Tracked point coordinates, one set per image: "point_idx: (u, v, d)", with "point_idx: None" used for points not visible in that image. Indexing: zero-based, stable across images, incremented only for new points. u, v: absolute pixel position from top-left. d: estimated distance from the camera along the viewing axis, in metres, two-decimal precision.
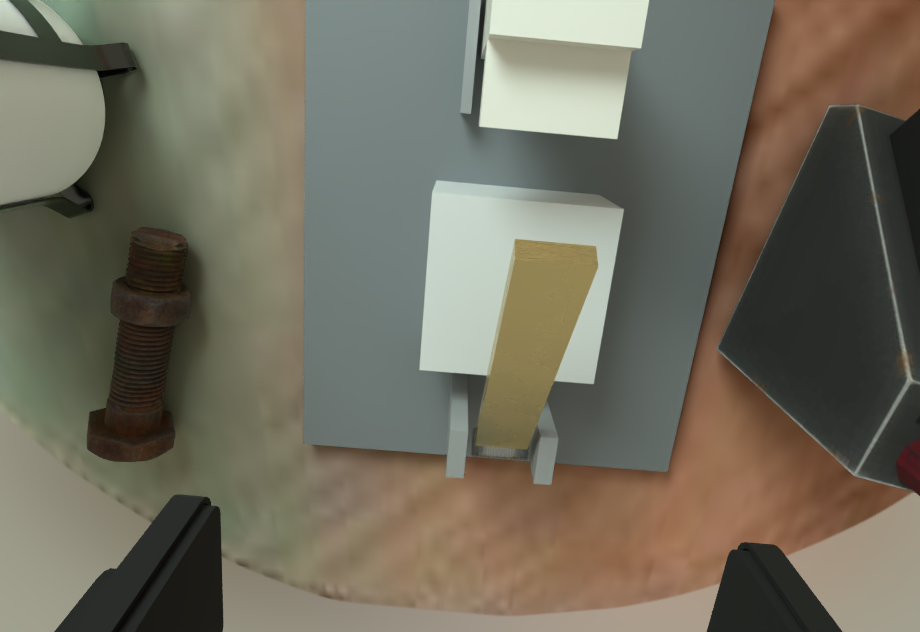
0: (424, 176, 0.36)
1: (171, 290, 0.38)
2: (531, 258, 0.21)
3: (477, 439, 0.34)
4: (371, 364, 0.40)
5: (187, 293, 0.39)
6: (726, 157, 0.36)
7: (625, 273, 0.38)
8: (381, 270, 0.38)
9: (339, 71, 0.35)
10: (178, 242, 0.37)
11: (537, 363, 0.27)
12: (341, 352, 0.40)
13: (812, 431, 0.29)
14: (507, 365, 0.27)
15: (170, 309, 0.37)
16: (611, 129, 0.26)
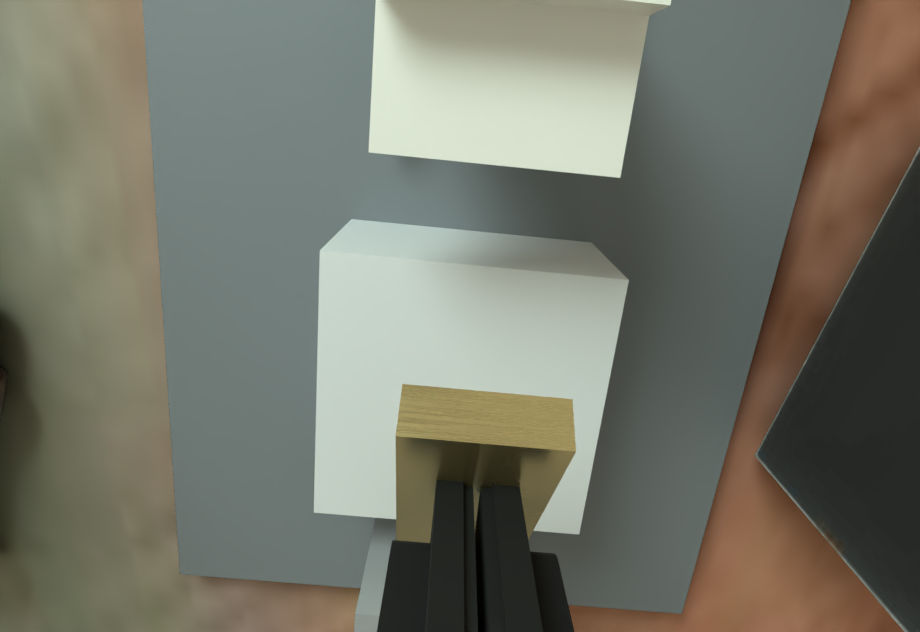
0: (333, 213, 0.25)
1: None
2: (431, 432, 0.10)
3: None
4: (268, 472, 0.29)
5: None
6: (779, 189, 0.24)
7: (628, 353, 0.27)
8: (276, 346, 0.27)
9: (198, 55, 0.23)
10: None
11: None
12: (225, 456, 0.28)
13: None
14: None
15: None
16: (610, 160, 0.14)
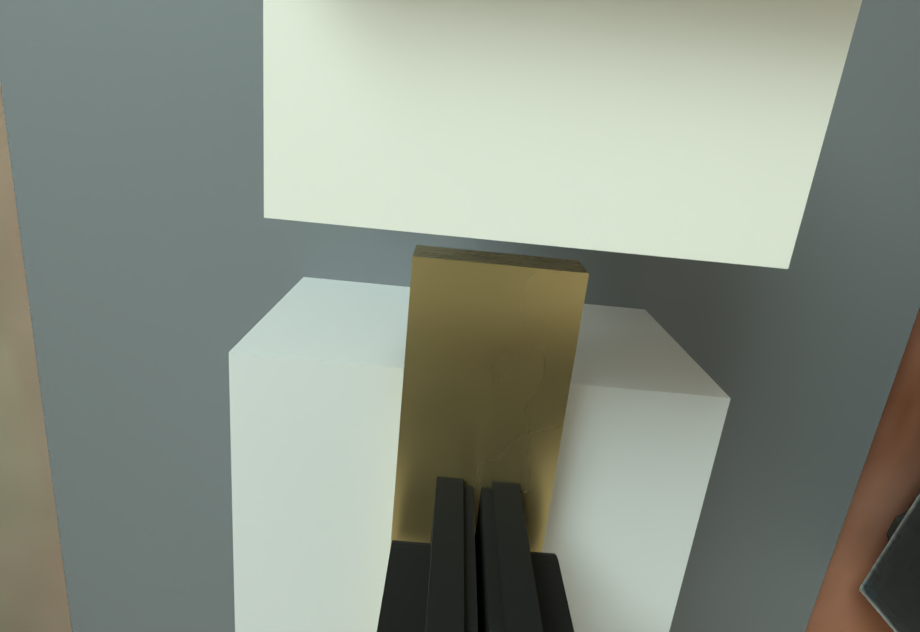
0: (277, 268, 0.17)
1: None
2: (447, 257, 0.10)
3: None
4: (198, 610, 0.21)
5: None
6: (917, 237, 0.17)
7: None
8: (203, 448, 0.19)
9: (72, 42, 0.15)
10: None
11: None
12: (139, 590, 0.21)
13: None
14: None
15: None
16: (769, 233, 0.07)
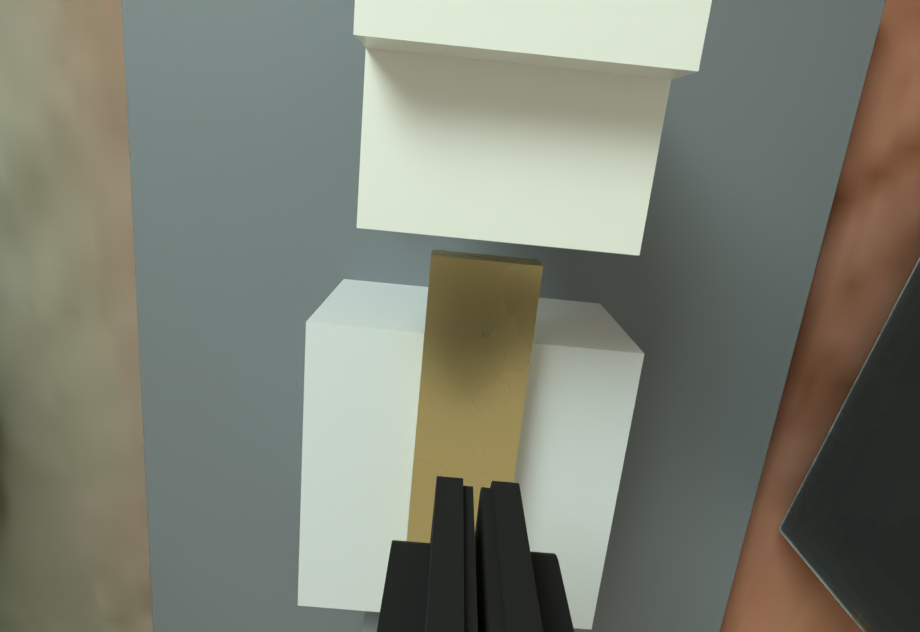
0: (324, 272, 0.23)
1: None
2: (453, 256, 0.16)
3: None
4: (252, 547, 0.27)
5: None
6: (800, 248, 0.23)
7: (640, 420, 0.25)
8: (262, 412, 0.25)
9: (182, 109, 0.22)
10: None
11: (478, 485, 0.18)
12: (205, 530, 0.26)
13: None
14: (434, 493, 0.18)
15: None
16: (627, 236, 0.13)
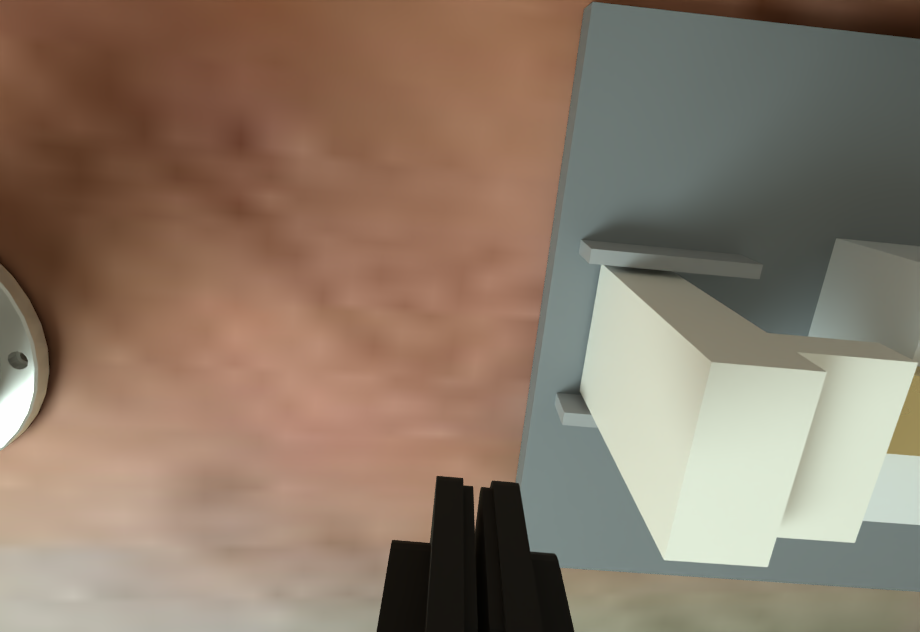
0: None
1: None
2: None
3: None
4: None
5: None
6: (817, 49, 0.24)
7: None
8: None
9: (638, 540, 0.30)
10: None
11: None
12: None
13: None
14: None
15: None
16: (901, 371, 0.17)
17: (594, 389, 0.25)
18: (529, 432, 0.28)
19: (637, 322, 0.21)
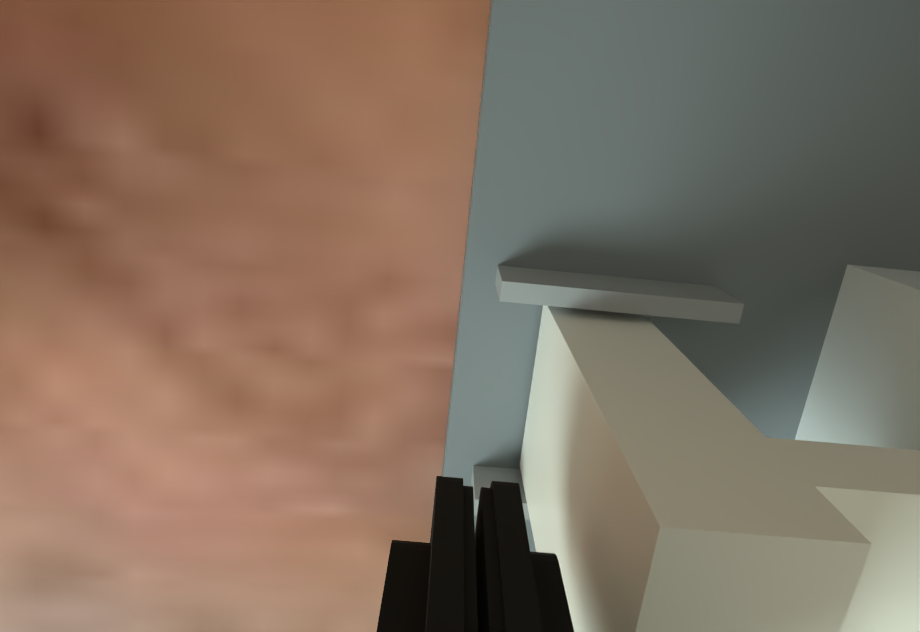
0: None
1: None
2: None
3: None
4: None
5: None
6: (823, 1, 0.17)
7: None
8: None
9: None
10: None
11: None
12: None
13: None
14: None
15: None
16: None
17: (531, 472, 0.18)
18: None
19: (573, 401, 0.14)
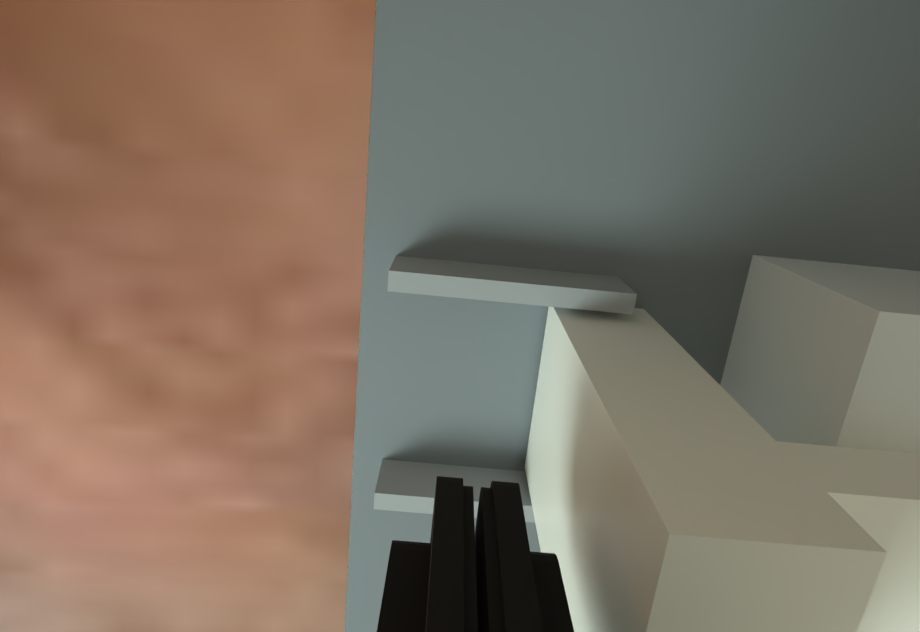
0: None
1: None
2: None
3: None
4: None
5: None
6: None
7: None
8: None
9: None
10: None
11: None
12: None
13: None
14: None
15: None
16: None
17: (536, 475, 0.18)
18: (351, 509, 0.21)
19: (580, 404, 0.14)
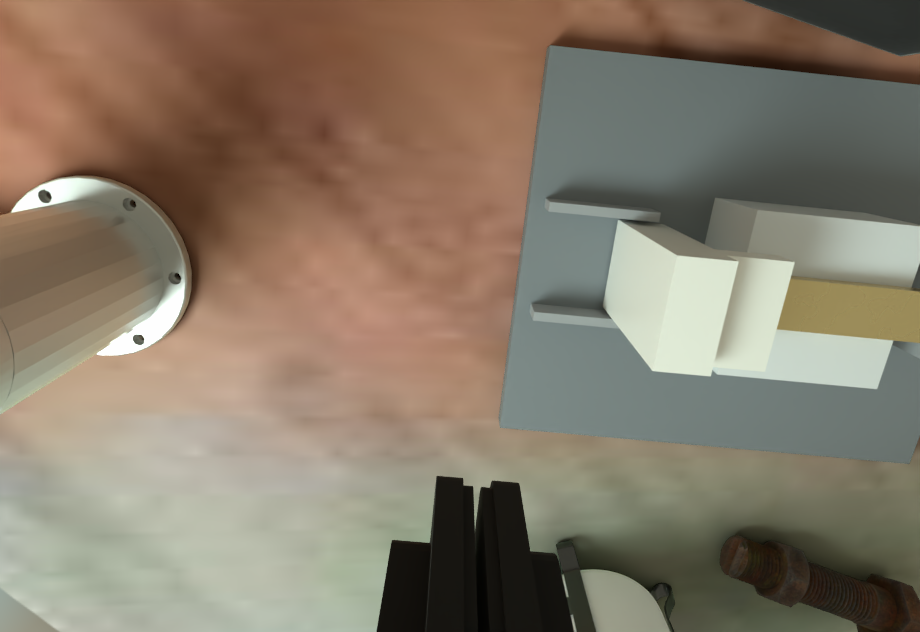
0: None
1: (778, 558, 0.47)
2: None
3: None
4: (842, 401, 0.44)
5: (779, 545, 0.47)
6: (695, 74, 0.37)
7: (796, 166, 0.39)
8: (755, 388, 0.43)
9: (589, 411, 0.44)
10: (741, 545, 0.47)
11: (819, 299, 0.34)
12: (825, 425, 0.44)
13: None
14: (820, 321, 0.34)
15: (796, 564, 0.46)
16: (785, 267, 0.30)
17: (612, 301, 0.39)
18: (513, 331, 0.42)
19: (640, 249, 0.34)
